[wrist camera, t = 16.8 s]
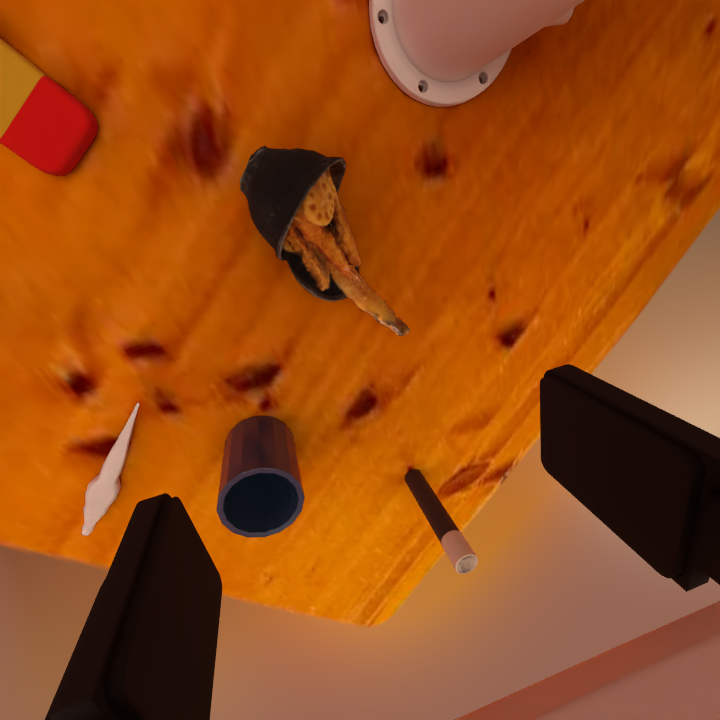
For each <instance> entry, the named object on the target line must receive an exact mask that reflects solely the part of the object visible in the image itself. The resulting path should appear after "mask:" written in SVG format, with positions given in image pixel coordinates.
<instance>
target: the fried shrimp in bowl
mask: <svg viewBox="0 0 720 720" xmlns="http://www.w3.org/2000/svg"><path fill="white" fill-rule="evenodd" d="M345 168H346V163H345V160H344V159H343V158H340V157H325V156H323V155H321V154H319V153H317V152H315V151H310V150H304V149H291V150H287V149H271V148H267V147H266V146H263V147H261V148H259V149H258V150H257V151H256V152H255V153H254V154H253V155H251V157H250V159H249V161H248V164H247V167H246V169H245V171H244V173H243V175H242V176H243V177H242V176H241V179H240V190H241V192H243V193H244V194H245V196H246V197H247V200H248V204H249V210H250V213H251V218H252V220H253V222H254V224H255V226H256V227H257V229H258V231H259V232H260V234H261V235H262V236H263V237H264V239H265V240H266V241H267V242H268V243H269V244H270V245H271V246H272V247H273V248H274V250H275V251H276V256H277V258H279V259H280V260H283V261H284V260H287V262H288V264H289V267H290V269H291V271H292V273H293V274H294V276H295V278H296V280H297V281H298V282H299V283H300V284H301V286H303V287H304V288H305V289H306V290H307V291H308V292H310V293H311V294H312V295H314V296H316V297H318V298H320V299H323V300H326V301H338V300H342V299H345V298H351V299H352V301H353V302H354V303H355V304H356V305H357V306H358V307H359V308H360V309H362V310H363V311H365V312H367V313H368V314H370V315H372V316H373V317H374V318H375V319H376V320H377V321H378V322H380V323H381V324H382V325H384V326H386V327H388V328H390V329H392V330H393V331H394V332H395V333H396V334H397V335H399V336H403V335H406V334H408V333H409V331H410V329H409V328H408V326H407V325H406V324H404V323H403V321H402V320H401V319H400V318H396V315H395V313H394V312H393V310H392V309H391V308H390V307H389V306H388V305H387V304H386V302H385V301H383V300H382V299H381V298H380V297H379V296H378V295H377V294H376V292H374V291H373V290H372V288H371V287H369V286H368V284H367V283H366V282H365V280H364V278H363V277H362V276H361V275H359V266H360V265H361V259H360V256H359V253H358V250H357V246H356V243H355V240H354V237H353V235H352V233H351V229H350V227H349V223H348V220H347V217H346V215H345V212H344V209H343V207H342V205H341V204H340V202H339V198H338V196H337V192H338V190H339V187H340V184H341V181H342V178H343V175H344V173H345Z"/></svg>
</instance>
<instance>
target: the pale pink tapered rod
mask: <svg viewBox="0 0 720 720" xmlns="http://www.w3.org/2000/svg"><path fill="white" fill-rule="evenodd" d="M138 407H139V403H137V404H136V406H135V409H134V411H133V412H132V414H131V416H130V418H129V420H128V422H127V424H126V425H125V427H124V428H123V430H122V432H121V433H120V435H119V437H118V439H117V441H116V442H115V444H114V446H113V447H112V449H111V451H110V452H109V454H108V456H107V458H106V460H105V462H104V464H103V466H102V469H101V471H100V474H99V475H97V476H96V477H95V478H94V479H92V480H91V481H90V483H89V484H88V487H87V490H86V492H85V500H86V502H85V506H84V508H83V510H84V525H83V526H82V535H85V536H88V535H89V534H90V533H91V531H93V529H94V527H95V524H96V522H97V521H98V520H99V519H100V518H101V517H102V516H103V515H105V514H106V512H107V510H108V507H109V506H110V505H111V504H112V503H113V502H114V501H115V500H116V498H117V495H118V493H119V491H120V488H121V484H120V480H119V475H120V473H121V471H122V469H123V466H124V463H125V459H126V456H127V452H128V447H129V442H130V439H131V435H132V431H133V427H134V423H135V419H136V415H137V411H138Z"/></svg>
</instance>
